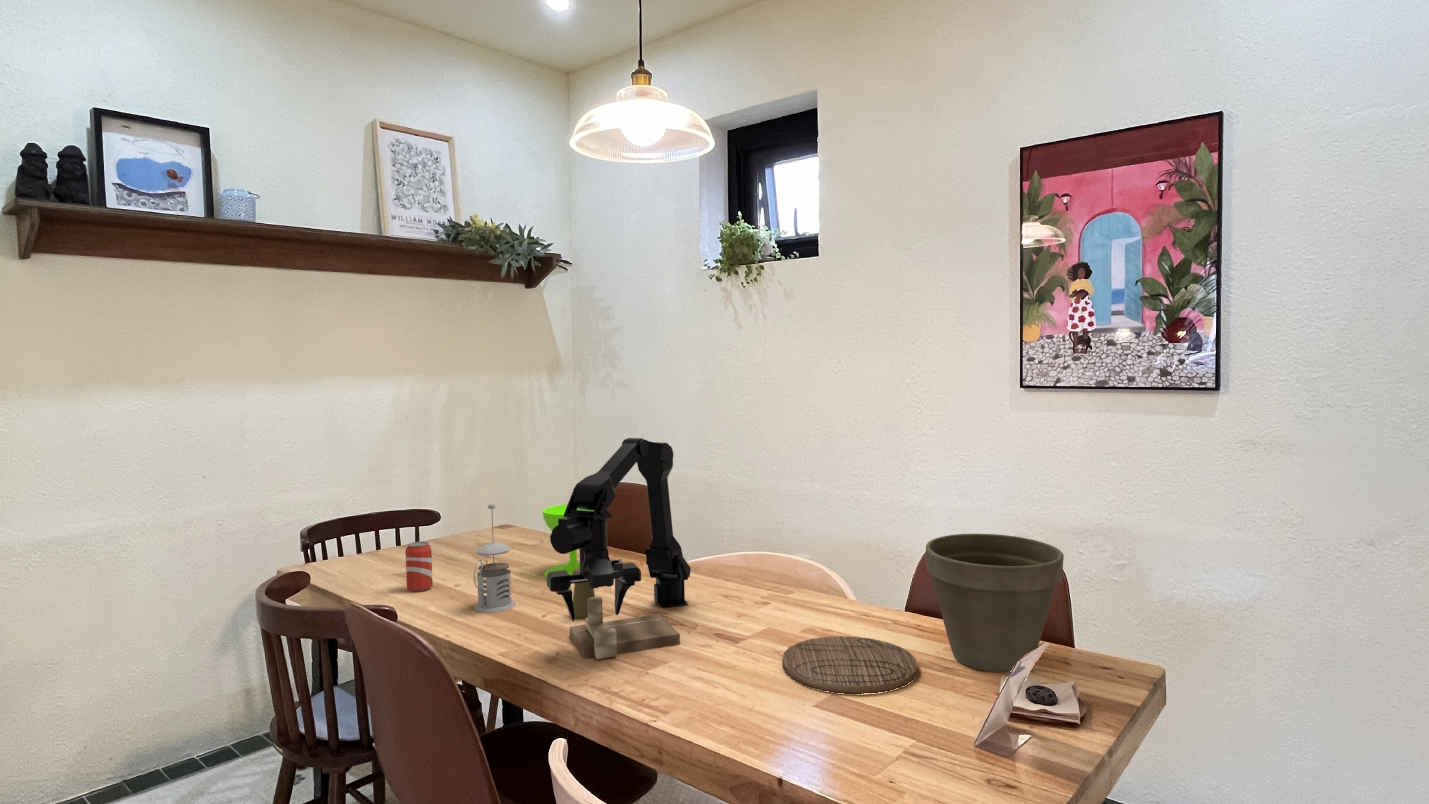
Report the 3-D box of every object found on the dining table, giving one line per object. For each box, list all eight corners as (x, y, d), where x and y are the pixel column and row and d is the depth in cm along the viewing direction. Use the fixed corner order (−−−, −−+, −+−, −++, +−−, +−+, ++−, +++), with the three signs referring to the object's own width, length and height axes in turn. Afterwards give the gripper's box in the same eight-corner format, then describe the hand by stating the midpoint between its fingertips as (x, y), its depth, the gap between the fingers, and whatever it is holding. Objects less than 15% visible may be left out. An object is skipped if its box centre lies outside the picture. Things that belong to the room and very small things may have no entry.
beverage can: (436, 585, 208) (434, 541, 208) (425, 592, 202) (423, 546, 201) (414, 585, 209) (412, 540, 208) (402, 592, 203) (401, 546, 202)
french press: (524, 601, 193) (520, 500, 192) (496, 616, 182) (492, 509, 181) (489, 598, 196) (486, 499, 195) (460, 612, 185) (456, 507, 184)
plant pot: (1068, 693, 135) (1068, 568, 134) (920, 676, 143) (919, 558, 142) (1058, 643, 158) (1059, 537, 157) (931, 631, 167) (931, 530, 166)
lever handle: (600, 634, 167) (599, 592, 167) (616, 656, 155) (615, 610, 154) (582, 637, 166) (581, 595, 165) (596, 659, 153) (595, 613, 153)
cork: (592, 619, 179) (591, 571, 178) (567, 618, 180) (565, 570, 179) (601, 611, 184) (600, 564, 184) (577, 609, 186) (575, 563, 185)
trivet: (779, 645, 161) (779, 636, 161) (902, 644, 160) (902, 635, 160) (786, 697, 136) (786, 686, 136) (931, 697, 135) (931, 686, 135)
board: (659, 622, 175) (659, 613, 175) (679, 643, 162) (679, 633, 162) (569, 635, 168) (569, 626, 168) (583, 658, 155) (583, 648, 155)
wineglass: (614, 570, 221) (613, 506, 220) (575, 584, 207) (573, 516, 206) (572, 563, 229) (570, 502, 228) (531, 576, 216) (530, 511, 215)
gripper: (554, 556, 151) (557, 636, 152) (648, 546, 158) (649, 623, 159) (545, 544, 161) (547, 619, 162) (633, 535, 168) (634, 607, 169)
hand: (595, 617), depth 163 cm, fingers open, 9 cm apart
